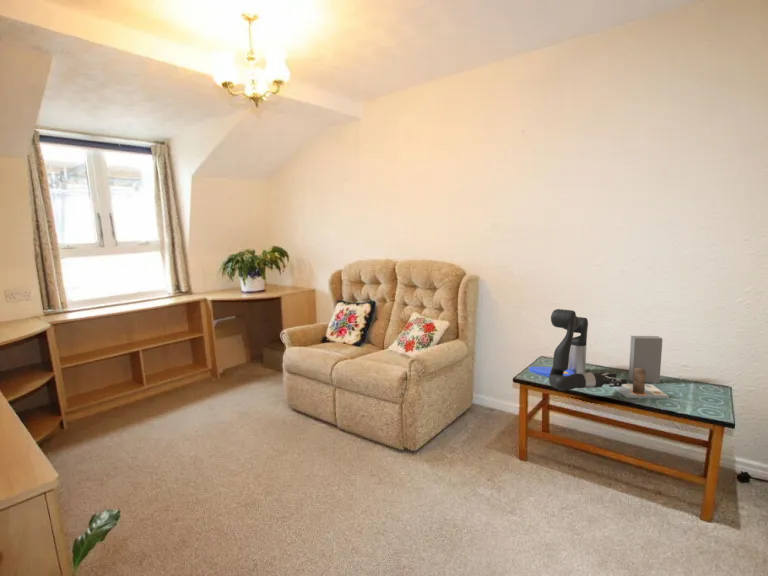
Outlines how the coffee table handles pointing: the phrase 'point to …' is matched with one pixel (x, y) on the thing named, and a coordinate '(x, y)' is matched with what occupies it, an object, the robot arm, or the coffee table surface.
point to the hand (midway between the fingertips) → (621, 378)
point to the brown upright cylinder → (639, 381)
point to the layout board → (649, 392)
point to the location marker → (548, 371)
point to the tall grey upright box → (646, 357)
